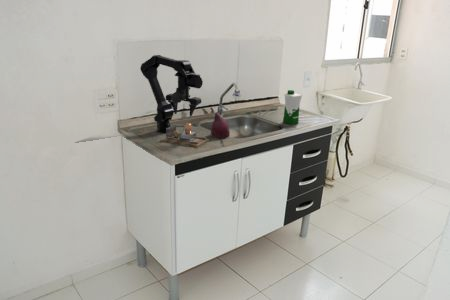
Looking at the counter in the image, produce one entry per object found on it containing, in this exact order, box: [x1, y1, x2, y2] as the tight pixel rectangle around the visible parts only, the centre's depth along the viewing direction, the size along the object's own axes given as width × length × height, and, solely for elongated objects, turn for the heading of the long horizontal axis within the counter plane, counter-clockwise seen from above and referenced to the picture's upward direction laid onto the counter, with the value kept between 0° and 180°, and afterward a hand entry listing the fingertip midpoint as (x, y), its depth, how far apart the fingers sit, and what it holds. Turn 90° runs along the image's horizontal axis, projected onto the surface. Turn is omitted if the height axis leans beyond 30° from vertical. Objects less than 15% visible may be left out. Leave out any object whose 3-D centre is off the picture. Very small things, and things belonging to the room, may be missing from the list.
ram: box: [179, 122, 197, 141], centre depth 186 cm, size 7×6×8 cm
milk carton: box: [282, 89, 303, 126], centre depth 228 cm, size 9×9×20 cm
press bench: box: [163, 125, 210, 149], centre depth 188 cm, size 20×12×6 cm, turn 66°
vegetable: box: [210, 111, 231, 139], centre depth 197 cm, size 10×10×15 cm
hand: (183, 115), depth 192 cm, fingers open, 9 cm apart
